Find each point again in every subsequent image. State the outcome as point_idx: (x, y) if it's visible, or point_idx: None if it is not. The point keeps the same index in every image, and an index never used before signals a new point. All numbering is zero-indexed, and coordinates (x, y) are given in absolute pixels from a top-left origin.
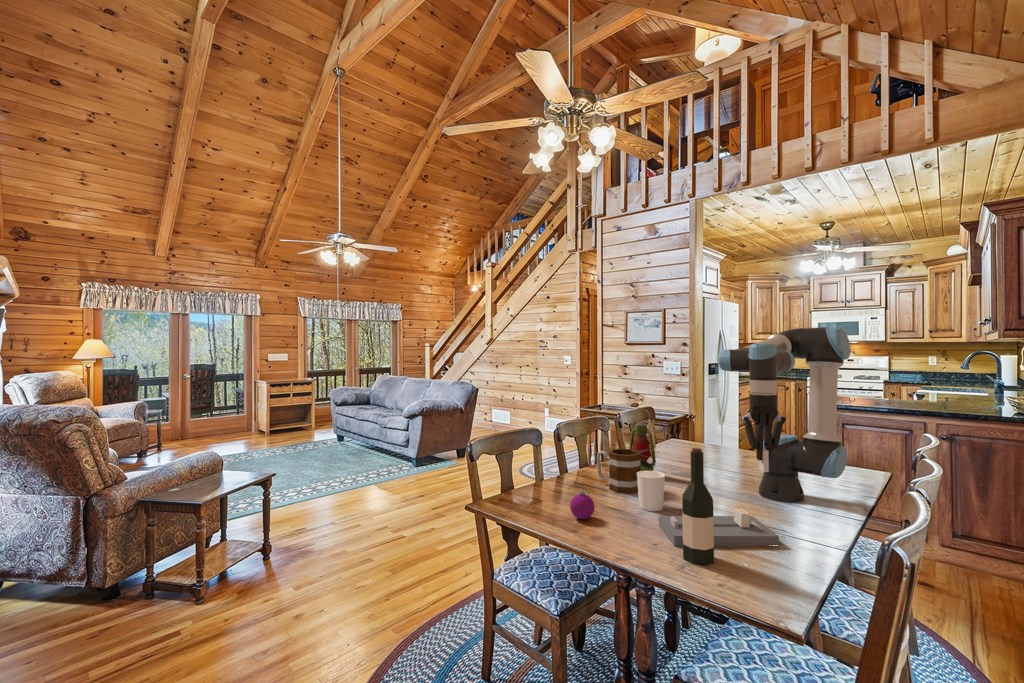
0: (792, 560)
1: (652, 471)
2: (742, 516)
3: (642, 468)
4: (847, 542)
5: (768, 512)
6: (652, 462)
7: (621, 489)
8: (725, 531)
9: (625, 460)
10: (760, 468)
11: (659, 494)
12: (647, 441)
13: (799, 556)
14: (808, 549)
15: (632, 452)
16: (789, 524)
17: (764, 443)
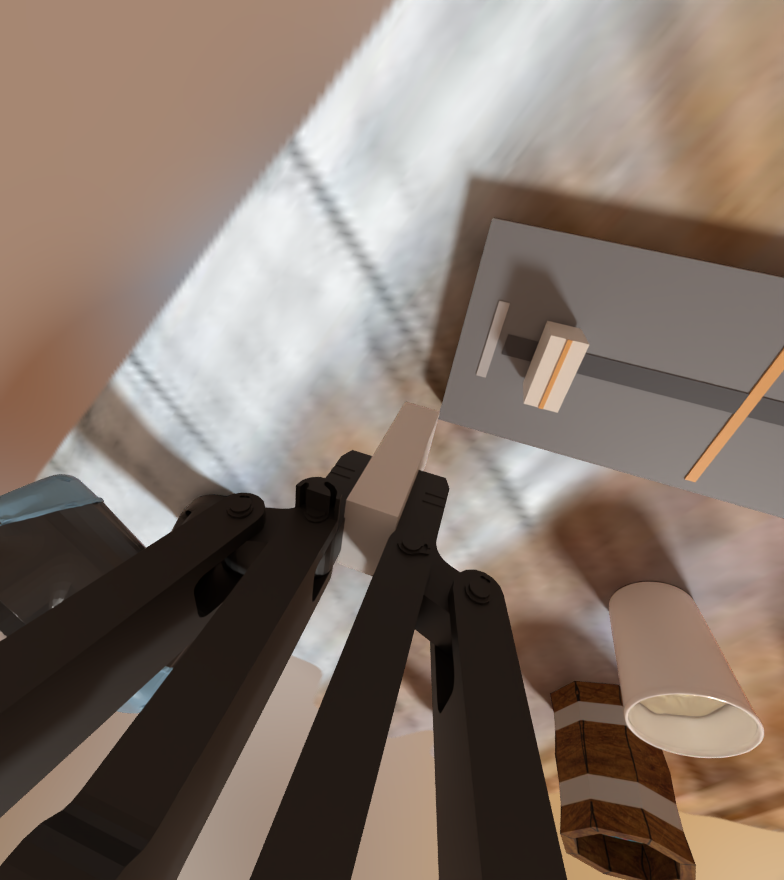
0: (555, 59)
1: (642, 736)
2: (581, 340)
3: None
4: (240, 208)
5: (328, 467)
6: None
7: None
8: (680, 315)
9: (659, 822)
10: (426, 457)
11: (670, 628)
12: None
13: (491, 102)
14: (405, 170)
15: (575, 838)
16: (325, 381)
17: (316, 601)
